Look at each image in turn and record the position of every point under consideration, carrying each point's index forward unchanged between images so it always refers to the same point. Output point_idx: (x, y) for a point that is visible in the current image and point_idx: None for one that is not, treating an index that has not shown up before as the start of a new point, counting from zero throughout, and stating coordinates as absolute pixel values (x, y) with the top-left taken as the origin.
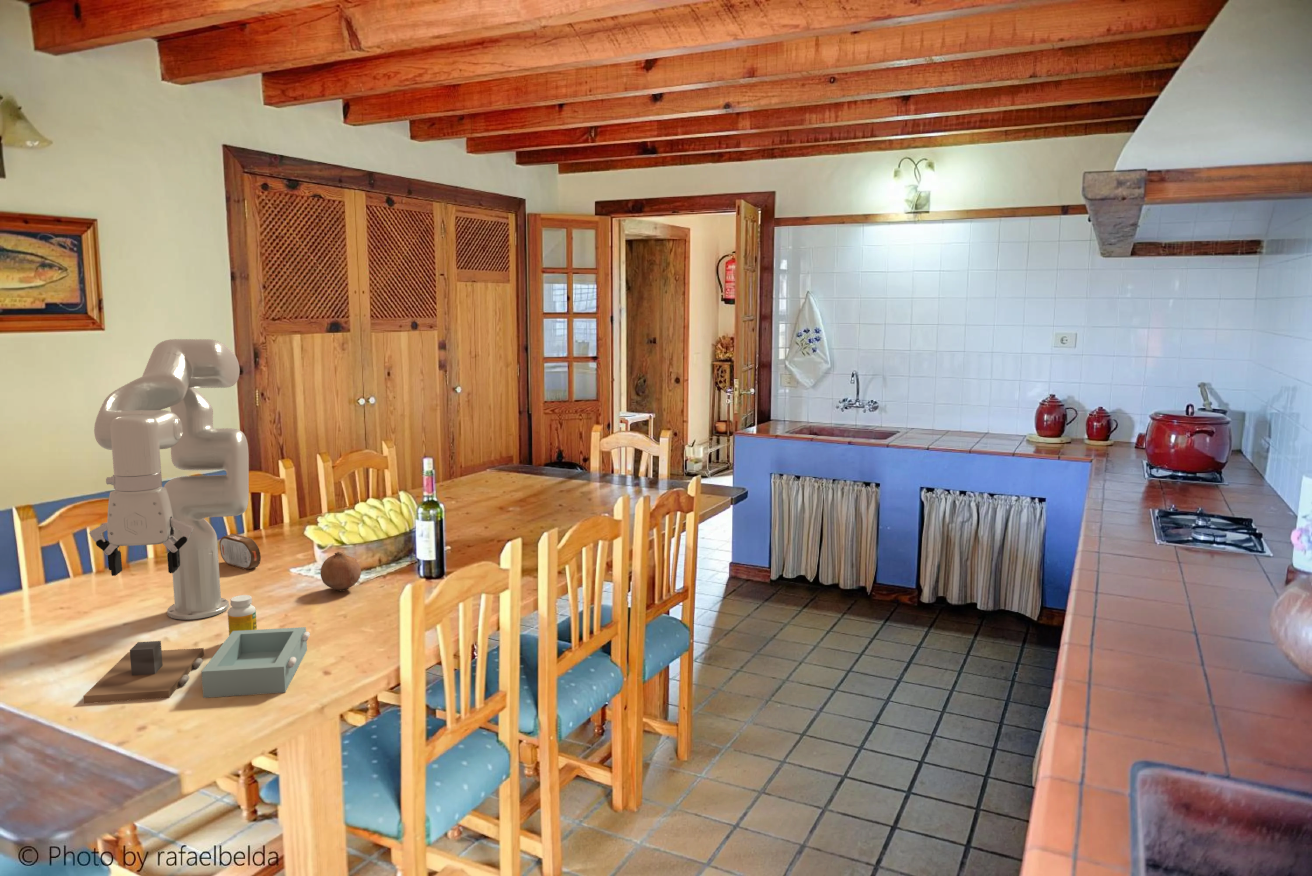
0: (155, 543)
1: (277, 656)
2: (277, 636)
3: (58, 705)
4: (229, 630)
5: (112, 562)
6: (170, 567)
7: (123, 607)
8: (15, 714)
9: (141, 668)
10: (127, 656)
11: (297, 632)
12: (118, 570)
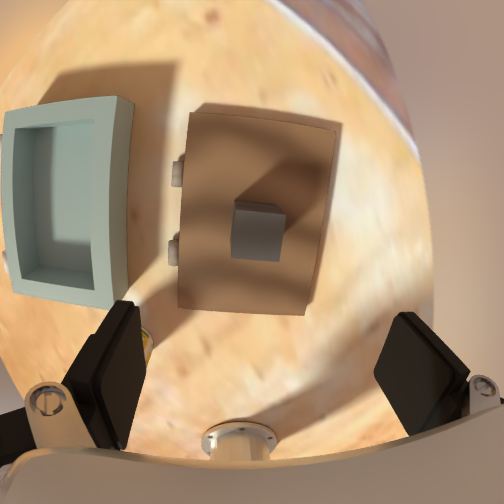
0: (127, 458)
1: (52, 244)
2: (45, 279)
3: (365, 139)
4: (143, 346)
5: (440, 347)
6: (114, 315)
7: (328, 449)
8: (409, 129)
9: (259, 204)
10: (302, 297)
11: (14, 271)
12: (391, 349)
